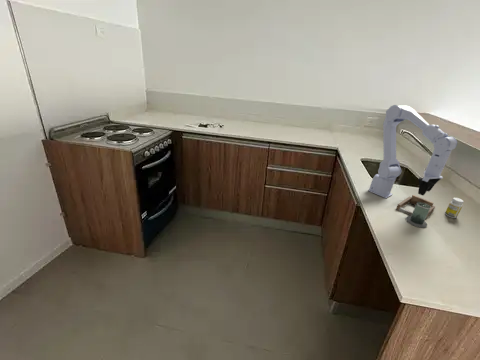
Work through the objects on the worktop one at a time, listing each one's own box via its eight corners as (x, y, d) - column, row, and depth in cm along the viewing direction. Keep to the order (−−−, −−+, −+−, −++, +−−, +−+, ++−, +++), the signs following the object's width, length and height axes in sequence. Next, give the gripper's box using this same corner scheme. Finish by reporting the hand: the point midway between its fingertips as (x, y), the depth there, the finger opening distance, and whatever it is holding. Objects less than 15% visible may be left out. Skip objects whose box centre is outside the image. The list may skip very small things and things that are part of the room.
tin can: (407, 219, 118) (414, 203, 115) (412, 216, 121) (419, 200, 118) (420, 225, 115) (428, 209, 111) (425, 222, 118) (432, 206, 114)
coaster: (402, 220, 118) (403, 219, 118) (409, 215, 123) (410, 214, 123) (423, 230, 113) (423, 228, 113) (429, 224, 118) (429, 222, 118)
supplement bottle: (451, 213, 130) (459, 197, 127) (459, 218, 126) (467, 202, 122) (442, 212, 130) (449, 196, 126) (449, 217, 125) (457, 201, 122)
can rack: (395, 208, 128) (398, 201, 126) (407, 200, 137) (410, 193, 135) (422, 220, 120) (426, 212, 118) (433, 211, 130) (436, 203, 128)
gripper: (441, 170, 110) (428, 200, 116) (452, 164, 119) (438, 192, 125) (422, 164, 115) (410, 193, 120) (434, 159, 124) (422, 186, 129)
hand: (423, 192), depth 123 cm, fingers open, 7 cm apart
